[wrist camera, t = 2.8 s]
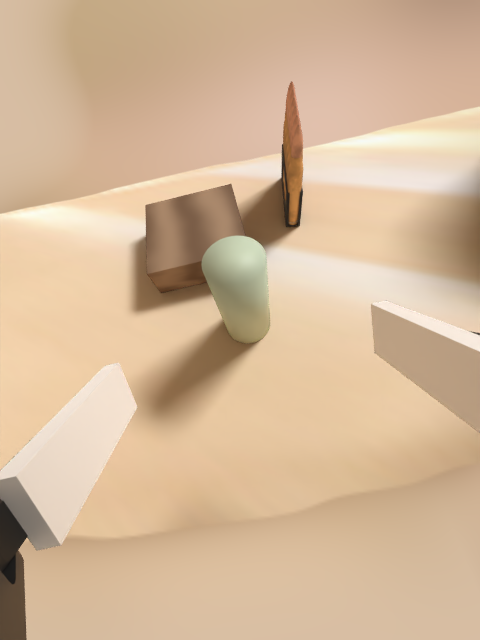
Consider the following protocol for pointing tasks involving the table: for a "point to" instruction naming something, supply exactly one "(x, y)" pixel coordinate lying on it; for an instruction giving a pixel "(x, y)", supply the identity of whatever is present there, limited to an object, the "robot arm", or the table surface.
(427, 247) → the table surface
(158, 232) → the walnut plinth
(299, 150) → the ammunition clip
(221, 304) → the sage cylinder
